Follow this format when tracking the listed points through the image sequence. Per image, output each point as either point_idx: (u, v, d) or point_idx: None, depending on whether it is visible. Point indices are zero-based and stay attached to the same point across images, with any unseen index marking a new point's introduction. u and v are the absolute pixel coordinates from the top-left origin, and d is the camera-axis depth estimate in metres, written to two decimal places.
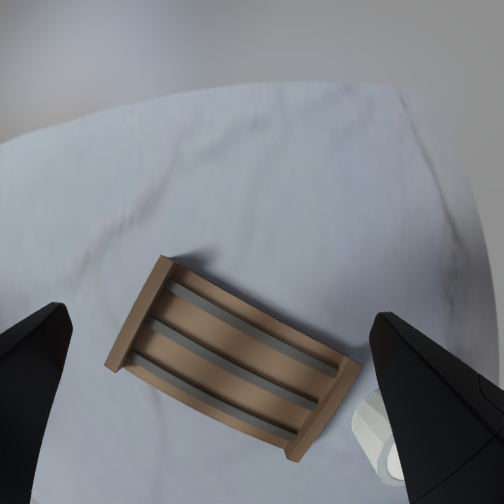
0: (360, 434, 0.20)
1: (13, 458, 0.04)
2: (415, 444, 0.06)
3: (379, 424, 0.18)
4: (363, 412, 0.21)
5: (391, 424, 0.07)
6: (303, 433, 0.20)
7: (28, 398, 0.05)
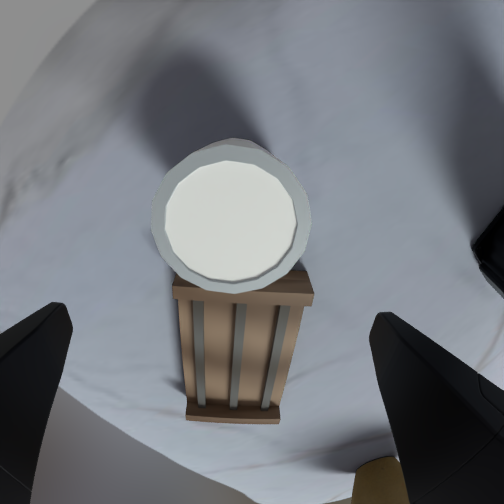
0: None
1: (13, 459, 0.04)
2: (415, 444, 0.06)
3: None
4: None
5: (391, 424, 0.07)
6: None
7: (28, 398, 0.05)
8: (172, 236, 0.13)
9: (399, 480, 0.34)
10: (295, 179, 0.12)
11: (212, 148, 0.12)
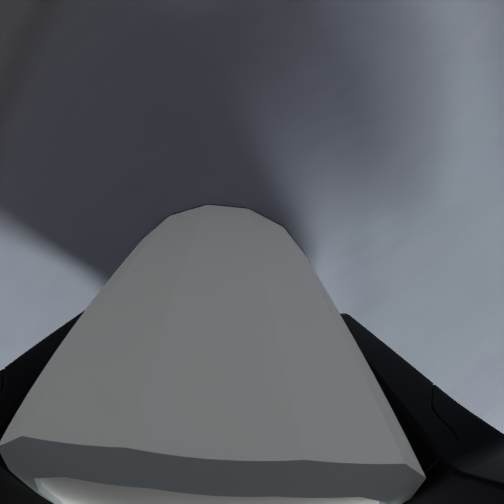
0: None
1: None
2: None
3: None
4: None
5: None
6: None
7: None
8: None
9: None
10: (410, 472, 0.03)
11: (79, 446, 0.02)
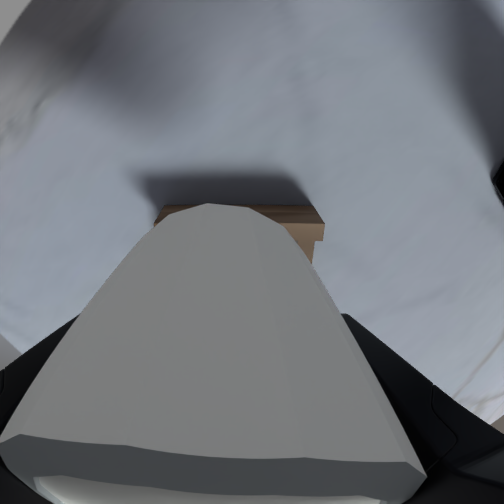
0: None
1: None
2: None
3: None
4: None
5: None
6: None
7: None
8: None
9: None
10: (411, 471, 0.03)
11: (78, 444, 0.02)
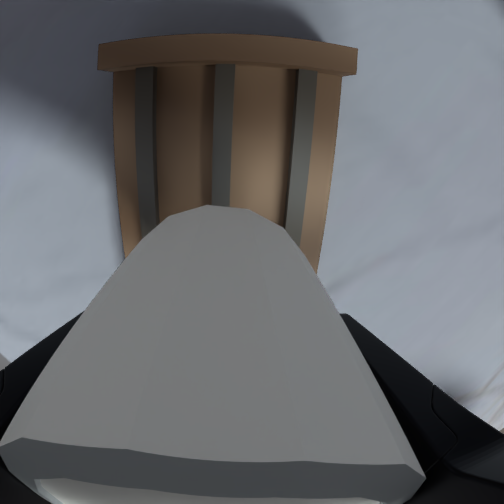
0: None
1: None
2: None
3: None
4: None
5: None
6: (285, 65, 0.09)
7: None
8: None
9: None
10: (410, 473, 0.03)
11: (79, 448, 0.02)
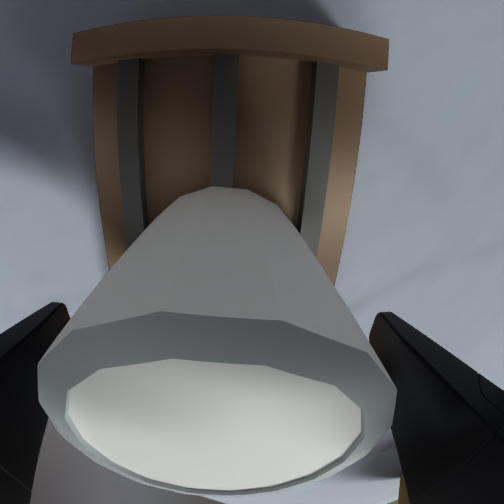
0: None
1: (13, 458, 0.04)
2: (415, 444, 0.06)
3: None
4: None
5: None
6: (302, 55, 0.07)
7: (28, 398, 0.05)
8: (101, 450, 0.05)
9: None
10: (377, 372, 0.04)
11: (123, 322, 0.03)
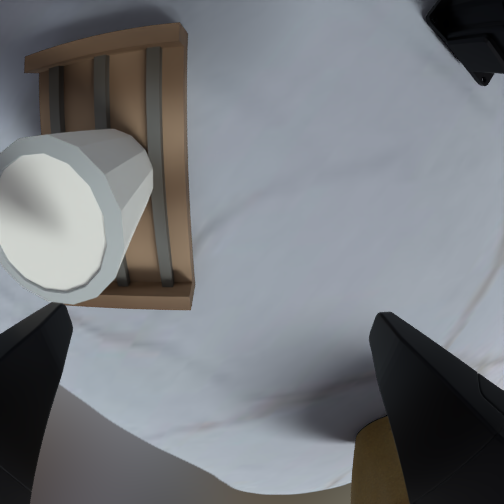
0: None
1: (13, 459, 0.04)
2: (415, 444, 0.06)
3: None
4: None
5: (391, 424, 0.07)
6: (131, 47, 0.12)
7: (28, 398, 0.05)
8: (3, 245, 0.10)
9: None
10: (87, 159, 0.09)
11: (10, 146, 0.08)
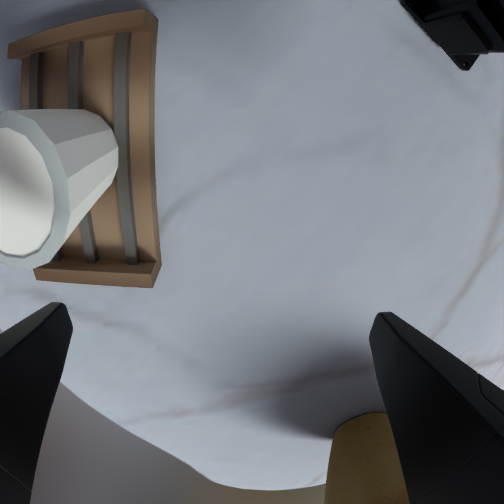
0: None
1: (13, 458, 0.04)
2: (415, 444, 0.06)
3: None
4: None
5: (391, 424, 0.07)
6: (101, 33, 0.12)
7: (28, 398, 0.05)
8: None
9: (393, 444, 0.25)
10: (41, 131, 0.08)
11: None
